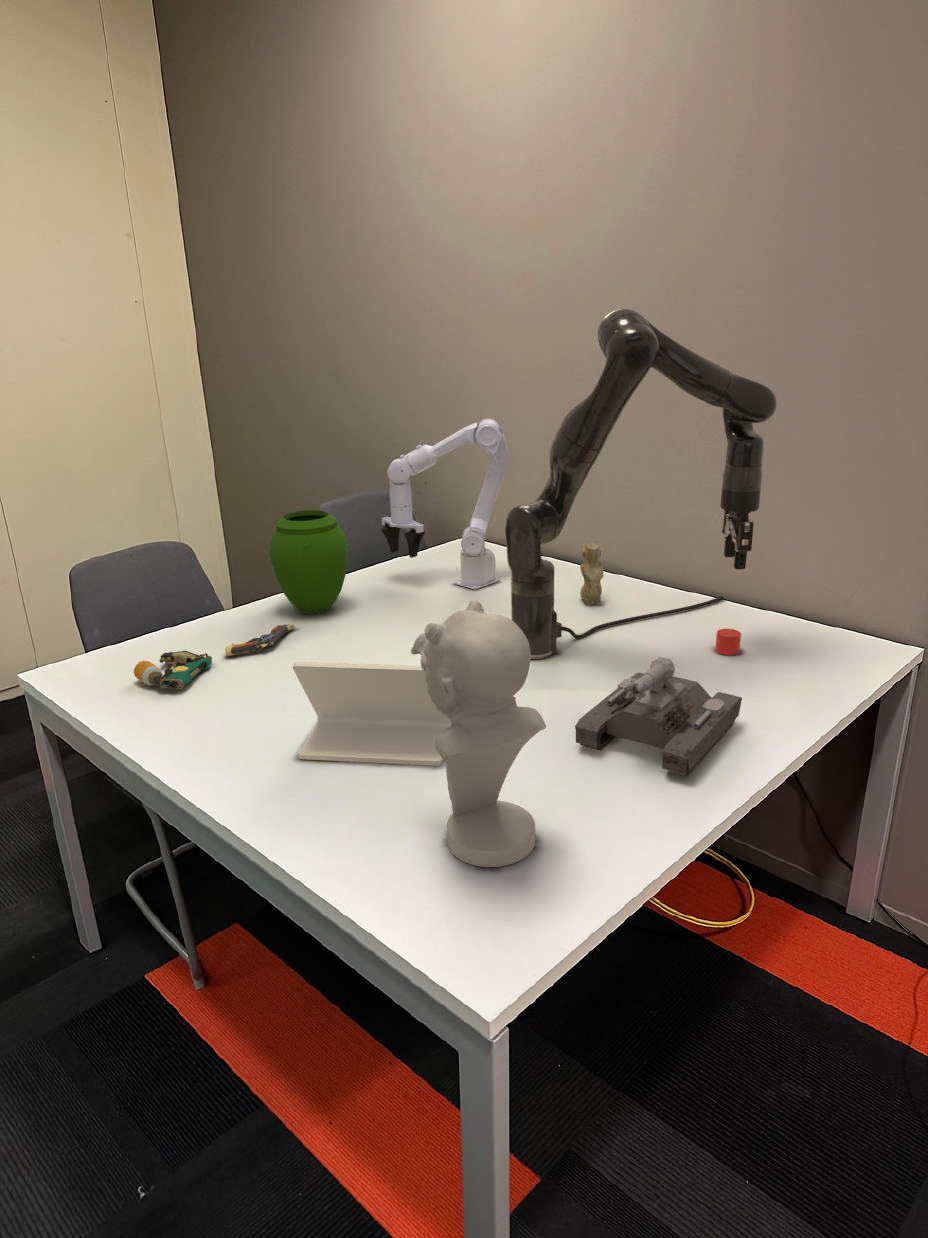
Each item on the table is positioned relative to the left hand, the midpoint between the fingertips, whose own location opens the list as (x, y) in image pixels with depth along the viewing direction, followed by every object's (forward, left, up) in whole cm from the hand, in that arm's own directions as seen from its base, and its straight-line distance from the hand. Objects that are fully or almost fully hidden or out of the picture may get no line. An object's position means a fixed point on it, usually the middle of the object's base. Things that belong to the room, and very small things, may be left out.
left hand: (403, 554), depth 231 cm
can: (-14, +89, -9) cm, 90 cm away
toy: (+29, +98, -9) cm, 103 cm away
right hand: (-14, +88, +11) cm, 90 cm away
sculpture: (-20, +47, -9) cm, 52 cm away
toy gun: (+50, +6, -9) cm, 51 cm away
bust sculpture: (+72, +93, -9) cm, 118 cm away
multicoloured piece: (+73, +8, -9) cm, 74 cm away
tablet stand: (+62, +61, -9) cm, 87 cm away
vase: (+28, -3, -9) cm, 30 cm away
